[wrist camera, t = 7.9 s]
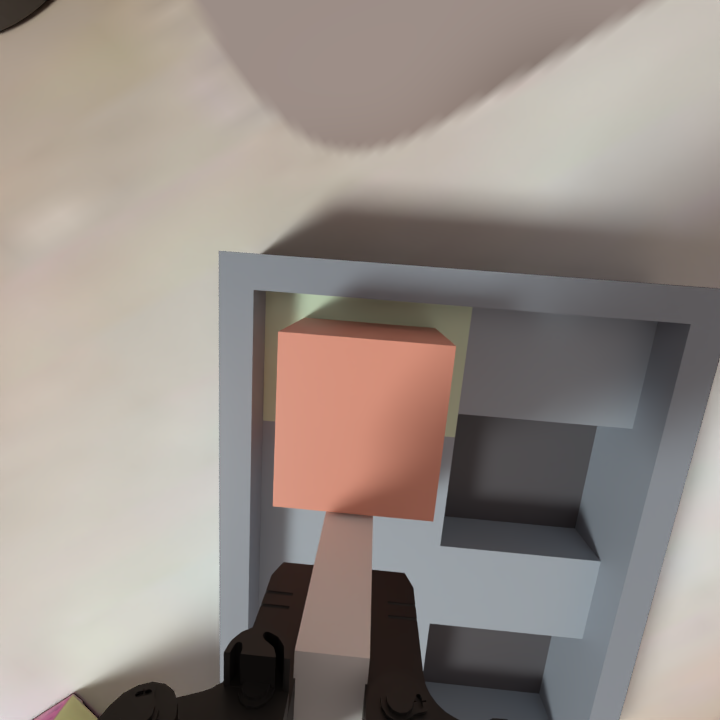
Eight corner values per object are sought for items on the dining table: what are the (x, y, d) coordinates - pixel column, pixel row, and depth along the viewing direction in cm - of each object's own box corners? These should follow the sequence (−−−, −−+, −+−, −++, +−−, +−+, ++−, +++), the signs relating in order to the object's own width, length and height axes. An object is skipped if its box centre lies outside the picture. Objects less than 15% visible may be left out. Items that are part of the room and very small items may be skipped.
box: (255, 257, 17) (218, 250, 13) (652, 287, 16) (738, 289, 12) (248, 706, 22) (220, 799, 18) (547, 739, 22) (585, 842, 18)
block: (304, 317, 15) (277, 331, 11) (435, 328, 15) (456, 346, 11) (298, 450, 16) (272, 506, 12) (419, 461, 16) (433, 521, 12)
